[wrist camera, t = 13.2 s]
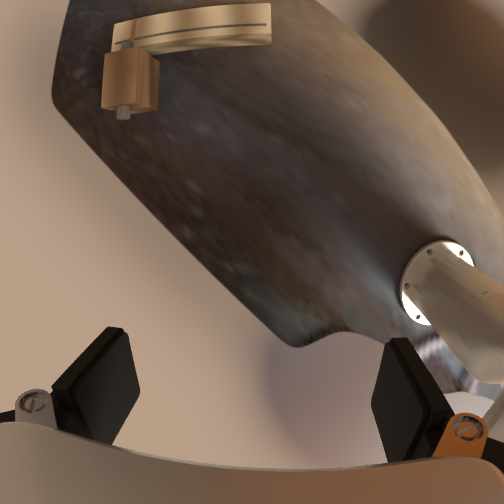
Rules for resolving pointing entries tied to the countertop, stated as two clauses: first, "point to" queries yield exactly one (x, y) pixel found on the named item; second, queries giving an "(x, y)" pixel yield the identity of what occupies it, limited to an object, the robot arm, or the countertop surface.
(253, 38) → the guide plank
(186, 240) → the countertop surface
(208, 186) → the countertop surface
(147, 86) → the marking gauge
